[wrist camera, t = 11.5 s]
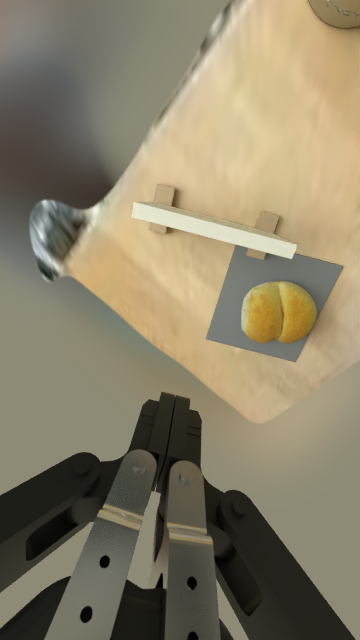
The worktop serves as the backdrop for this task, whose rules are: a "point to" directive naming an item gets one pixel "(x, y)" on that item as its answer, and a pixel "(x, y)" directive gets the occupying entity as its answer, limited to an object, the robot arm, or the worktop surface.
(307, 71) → the worktop surface
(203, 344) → the worktop surface
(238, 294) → the mat
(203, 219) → the screen
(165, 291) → the worktop surface
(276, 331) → the bread roll
